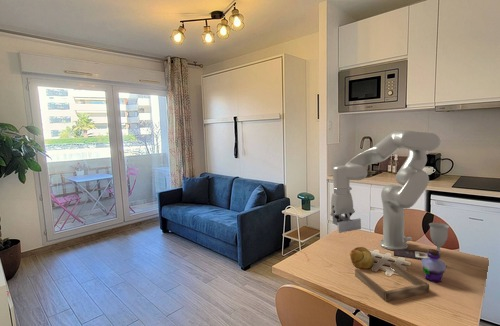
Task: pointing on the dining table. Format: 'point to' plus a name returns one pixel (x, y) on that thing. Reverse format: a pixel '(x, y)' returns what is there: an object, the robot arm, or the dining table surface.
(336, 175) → the robot arm
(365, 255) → the bread roll
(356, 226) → the grey t-shaped block
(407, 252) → the chocolate bar
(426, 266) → the potion bottle
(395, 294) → the walnut frame
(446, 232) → the chalice
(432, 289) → the dining table surface
